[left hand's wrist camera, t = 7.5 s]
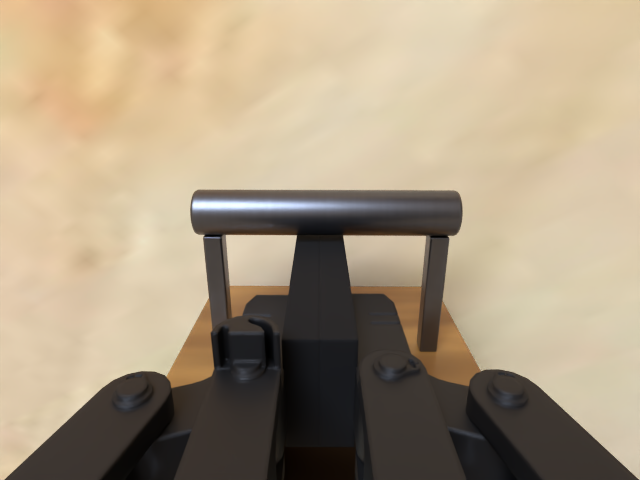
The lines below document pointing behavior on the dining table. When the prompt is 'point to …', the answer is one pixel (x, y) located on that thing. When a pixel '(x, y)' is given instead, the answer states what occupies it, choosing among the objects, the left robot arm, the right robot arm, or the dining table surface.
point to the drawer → (411, 302)
